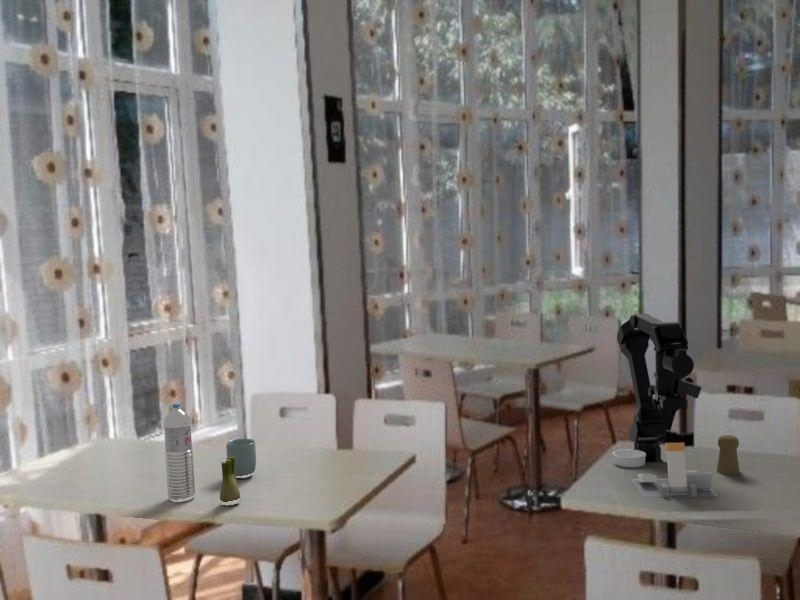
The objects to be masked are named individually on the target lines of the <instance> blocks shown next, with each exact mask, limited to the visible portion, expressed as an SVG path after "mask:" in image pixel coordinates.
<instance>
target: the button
mask: <svg viewBox="0 0 800 600" xmlns="http://www.w3.org/2000/svg"><path fill="white" fill-rule="evenodd" d="M686 472H699V471H698V470H694V469H692V470H691V469H690V470H689V469H686Z"/></svg>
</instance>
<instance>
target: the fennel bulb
mask: <svg viewBox="0 0 800 600" xmlns="http://www.w3.org/2000/svg"><path fill="white" fill-rule="evenodd" d="M221 472H222V484H221V488H220V491H219V493H220V494H219V499H220V500H221V501H223V502H228V501H233V500H237V499H239V498H240V499H241V492H240V490H239V485H238V481H237V480H238V479H236V476H235V457H227V456H226V460H225V461H221ZM221 501H220V502H221Z"/></svg>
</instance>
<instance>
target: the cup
mask: <svg viewBox="0 0 800 600" xmlns="http://www.w3.org/2000/svg"><path fill="white" fill-rule="evenodd" d="M225 445H226V447H225V449H226V458H227V457H235V476H243V475H248V474H251V473H253V472H254V471H256V465H257V452H256V450H257V448H256V441H255V440H254V439H251V438H235V439H232V440H229V441H227V442H226V444H225ZM254 473H255V472H254Z"/></svg>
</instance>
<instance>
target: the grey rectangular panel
mask: <svg viewBox="0 0 800 600" xmlns="http://www.w3.org/2000/svg"><path fill="white" fill-rule="evenodd" d="M712 480H713V472H712V471H698V472H686V481H687V486H688V483H694V484H695V485H696V487H697V489H712Z"/></svg>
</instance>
